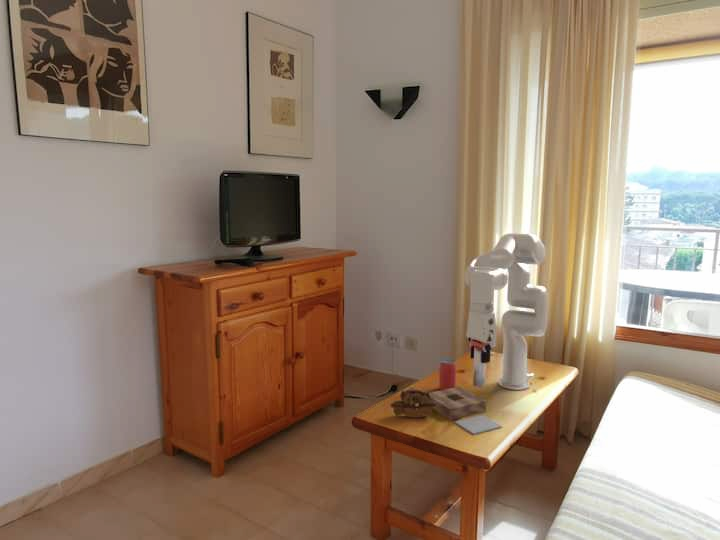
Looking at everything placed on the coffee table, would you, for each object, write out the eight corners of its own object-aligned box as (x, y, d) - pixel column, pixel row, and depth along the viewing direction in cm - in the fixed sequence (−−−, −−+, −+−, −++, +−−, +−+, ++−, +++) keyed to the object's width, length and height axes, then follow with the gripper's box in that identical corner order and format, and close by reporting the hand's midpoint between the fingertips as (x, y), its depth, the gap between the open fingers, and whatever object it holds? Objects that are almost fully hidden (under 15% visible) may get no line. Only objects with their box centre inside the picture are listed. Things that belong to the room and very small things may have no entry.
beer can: (455, 393, 206) (455, 364, 205) (438, 392, 208) (439, 363, 206) (455, 387, 213) (456, 359, 211) (439, 386, 214) (439, 358, 212)
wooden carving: (391, 420, 182) (392, 393, 180) (390, 415, 186) (390, 388, 185) (437, 418, 183) (438, 391, 182) (435, 413, 188) (435, 387, 186)
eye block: (459, 396, 203) (459, 386, 203) (485, 411, 189) (486, 401, 188) (425, 403, 196) (425, 393, 196) (450, 419, 182) (450, 409, 181)
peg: (480, 380, 180) (481, 337, 178) (493, 386, 174) (495, 342, 172) (464, 383, 177) (466, 340, 175) (477, 389, 171) (479, 345, 169)
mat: (482, 416, 184) (482, 415, 184) (501, 427, 176) (501, 426, 176) (455, 423, 179) (455, 421, 179) (473, 434, 170) (473, 433, 170)
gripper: (508, 311, 166) (506, 365, 168) (474, 301, 181) (472, 352, 183) (489, 313, 162) (487, 369, 165) (456, 303, 177) (455, 354, 180)
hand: (480, 359), depth 174 cm, fingers closed on peg, 4 cm apart
